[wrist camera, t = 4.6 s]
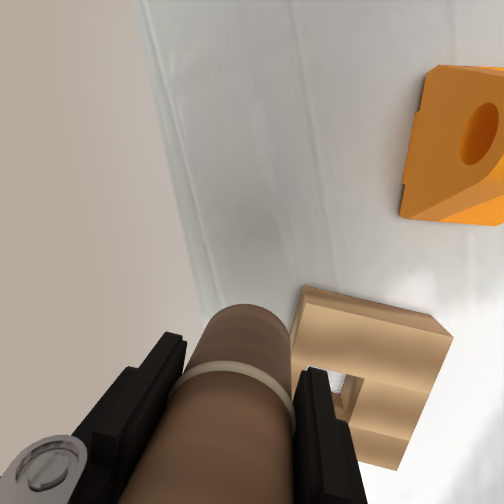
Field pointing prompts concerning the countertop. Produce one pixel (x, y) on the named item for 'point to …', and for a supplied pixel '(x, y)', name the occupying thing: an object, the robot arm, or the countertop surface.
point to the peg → (225, 420)
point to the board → (370, 366)
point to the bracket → (457, 148)
